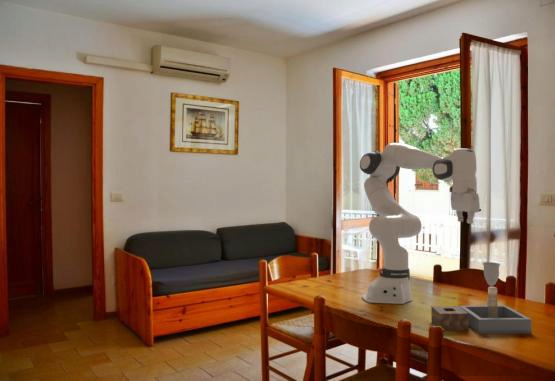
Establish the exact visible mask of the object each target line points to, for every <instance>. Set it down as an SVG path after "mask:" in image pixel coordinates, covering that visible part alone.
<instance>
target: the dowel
mask: <svg viewBox="0 0 555 381" xmlns="http://www.w3.org/2000/svg"><path fill="white" fill-rule="evenodd" d="M487 300H488V310H489V318H498V309H497V305H498V288H497V287H495V286H493V287H490V286H488V287H487Z"/></svg>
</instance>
